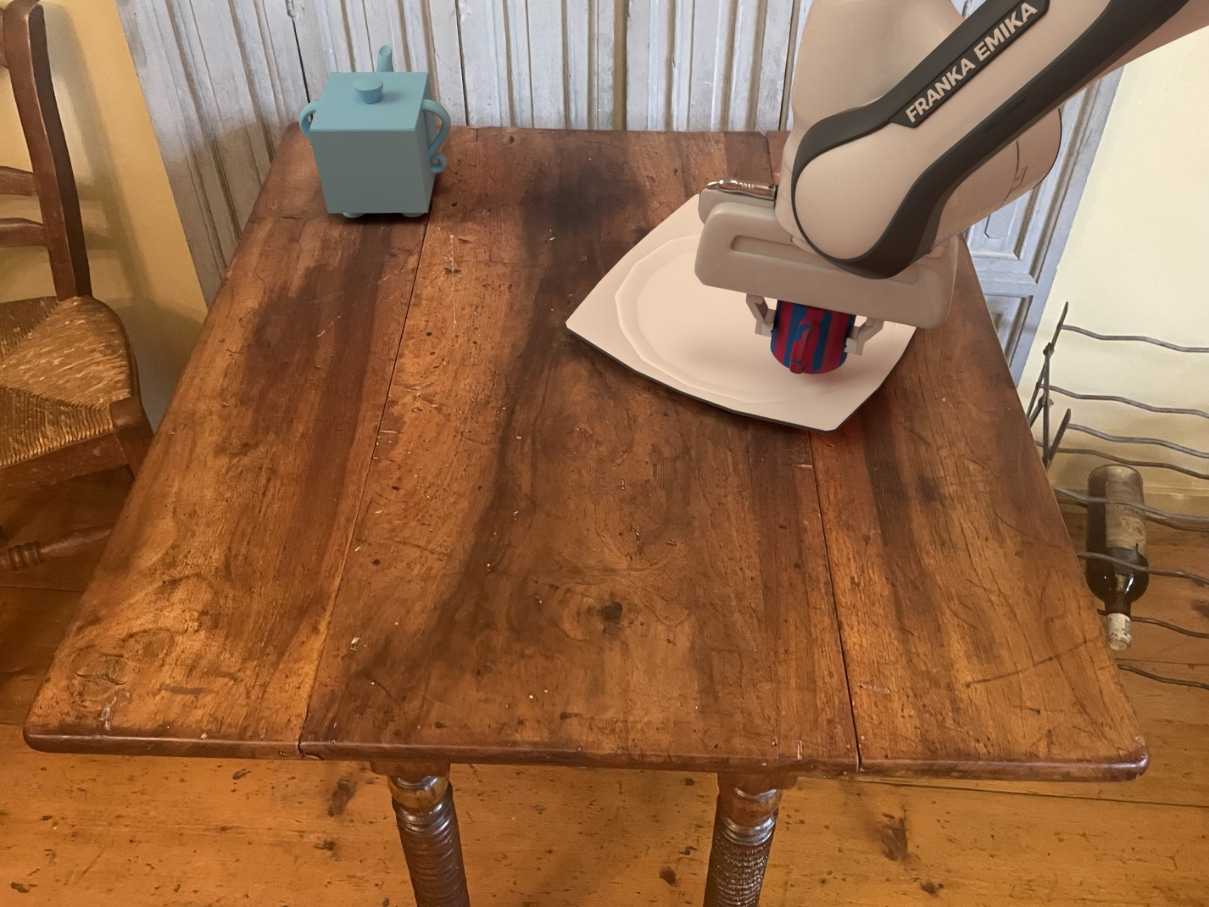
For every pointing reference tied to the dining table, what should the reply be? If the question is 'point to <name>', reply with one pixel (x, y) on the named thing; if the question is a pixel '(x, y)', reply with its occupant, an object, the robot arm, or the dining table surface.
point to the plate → (718, 337)
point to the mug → (810, 337)
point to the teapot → (377, 140)
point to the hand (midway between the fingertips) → (809, 340)
